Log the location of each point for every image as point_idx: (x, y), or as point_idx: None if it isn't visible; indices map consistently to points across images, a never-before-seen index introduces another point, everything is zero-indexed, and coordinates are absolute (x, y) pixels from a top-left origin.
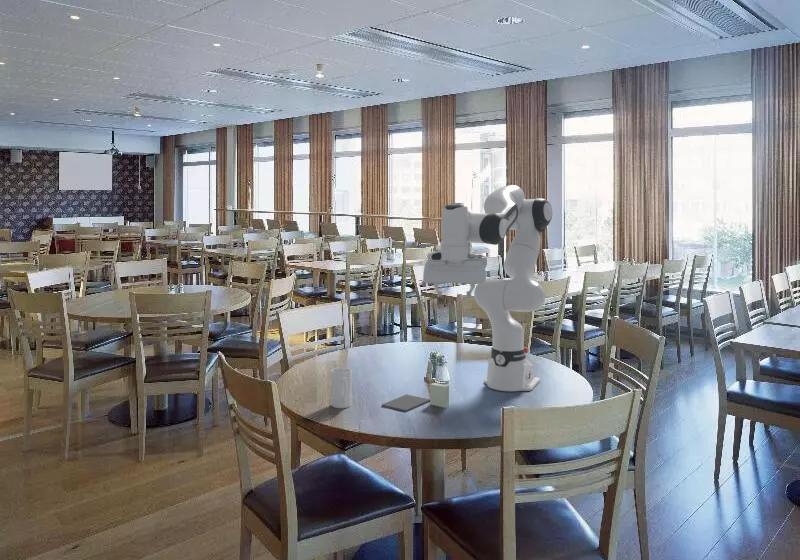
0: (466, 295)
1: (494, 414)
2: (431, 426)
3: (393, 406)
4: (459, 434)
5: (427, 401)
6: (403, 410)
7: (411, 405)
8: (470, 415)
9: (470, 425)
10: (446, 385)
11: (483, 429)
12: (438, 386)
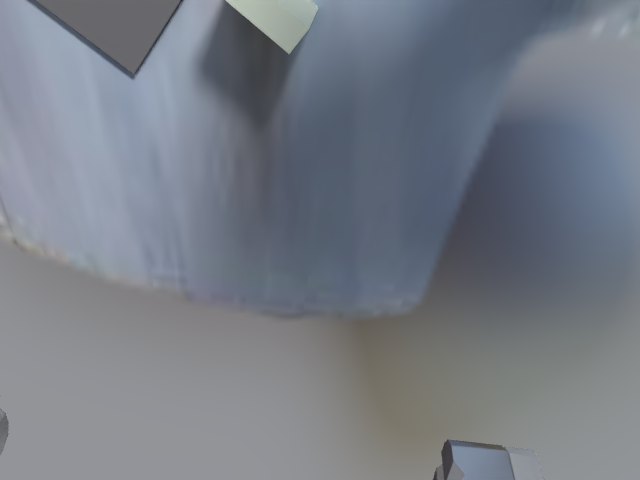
0: (448, 456)
1: (487, 133)
2: (234, 228)
3: (72, 19)
4: (316, 296)
5: None
6: (122, 63)
7: (149, 11)
8: (388, 136)
9: (365, 232)
10: (296, 21)
11: (398, 268)
12: (254, 23)
